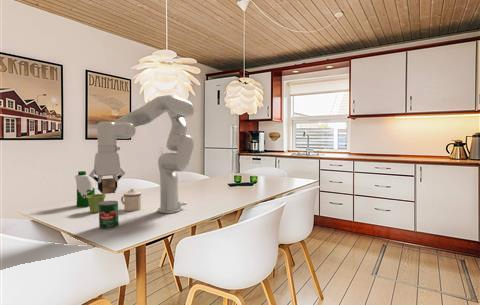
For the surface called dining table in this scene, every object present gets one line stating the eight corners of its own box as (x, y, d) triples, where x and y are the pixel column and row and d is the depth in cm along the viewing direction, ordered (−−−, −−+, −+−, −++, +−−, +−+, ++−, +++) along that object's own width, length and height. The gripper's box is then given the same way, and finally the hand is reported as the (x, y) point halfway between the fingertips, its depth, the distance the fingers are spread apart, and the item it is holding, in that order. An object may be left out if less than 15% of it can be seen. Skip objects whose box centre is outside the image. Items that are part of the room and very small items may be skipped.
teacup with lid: (144, 208, 158) (144, 187, 158) (134, 212, 150) (134, 190, 149) (126, 206, 162) (126, 186, 161) (115, 210, 153) (115, 189, 153)
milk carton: (84, 203, 170) (83, 170, 169) (98, 204, 168) (97, 170, 167) (73, 206, 161) (72, 172, 160) (87, 207, 159) (87, 172, 158)
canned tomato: (115, 223, 130) (114, 199, 130) (121, 227, 125) (120, 202, 124) (96, 226, 125) (96, 202, 125) (102, 230, 119) (101, 205, 119)
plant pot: (98, 214, 145) (97, 197, 145) (82, 213, 147) (82, 197, 147) (110, 209, 154) (109, 194, 154) (95, 209, 156) (94, 193, 156)
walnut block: (112, 191, 127) (112, 178, 127) (115, 192, 123) (115, 179, 123) (100, 192, 124) (100, 179, 124) (102, 194, 120) (102, 180, 120)
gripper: (124, 149, 131) (125, 187, 132) (83, 149, 121) (84, 191, 122) (129, 149, 125) (130, 190, 126) (87, 150, 115) (87, 194, 116)
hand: (107, 190), depth 124 cm, fingers closed on walnut block, 5 cm apart
